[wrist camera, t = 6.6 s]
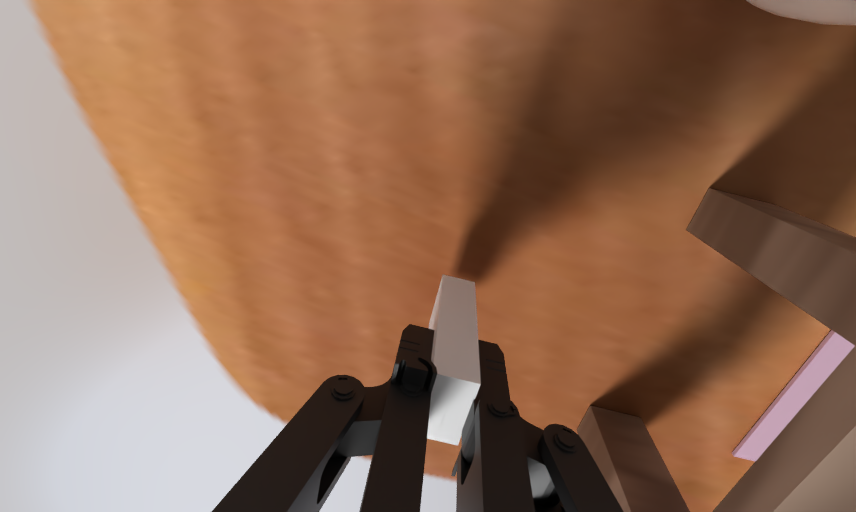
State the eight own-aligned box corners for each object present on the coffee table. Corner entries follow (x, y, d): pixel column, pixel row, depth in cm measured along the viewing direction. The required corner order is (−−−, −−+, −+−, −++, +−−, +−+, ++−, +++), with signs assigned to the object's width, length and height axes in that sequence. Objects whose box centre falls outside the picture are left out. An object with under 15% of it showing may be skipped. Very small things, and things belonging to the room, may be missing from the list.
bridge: (576, 430, 23) (645, 644, 15) (709, 187, 17) (971, 306, 8) (625, 441, 23) (723, 661, 15) (775, 204, 17) (1105, 339, 8)
